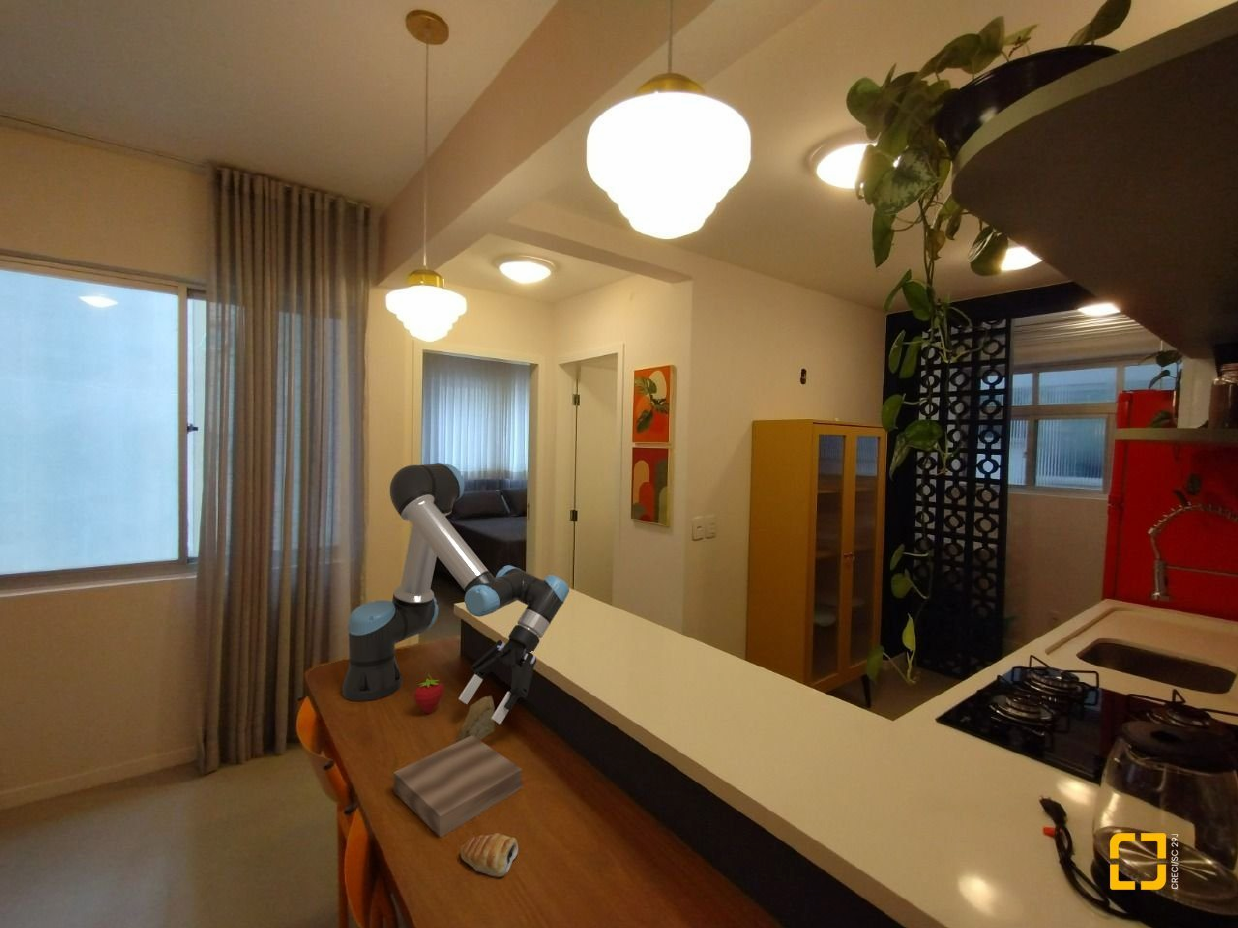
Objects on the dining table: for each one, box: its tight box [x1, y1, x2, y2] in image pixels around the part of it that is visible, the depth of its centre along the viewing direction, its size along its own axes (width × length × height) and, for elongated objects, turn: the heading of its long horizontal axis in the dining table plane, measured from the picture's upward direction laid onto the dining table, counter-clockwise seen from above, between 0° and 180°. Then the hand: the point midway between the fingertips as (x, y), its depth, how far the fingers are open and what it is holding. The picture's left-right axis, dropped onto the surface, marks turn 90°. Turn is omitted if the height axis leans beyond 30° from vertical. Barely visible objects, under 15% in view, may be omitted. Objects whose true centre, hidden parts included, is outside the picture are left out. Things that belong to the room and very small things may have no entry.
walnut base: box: [393, 735, 523, 839], centre depth 106 cm, size 18×18×4 cm
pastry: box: [459, 832, 519, 878], centre depth 89 cm, size 9×7×4 cm
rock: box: [455, 695, 496, 743], centre depth 125 cm, size 11×9×10 cm
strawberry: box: [413, 673, 445, 714], centre depth 135 cm, size 6×8×10 cm
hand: (478, 711), depth 124 cm, fingers open, 13 cm apart
